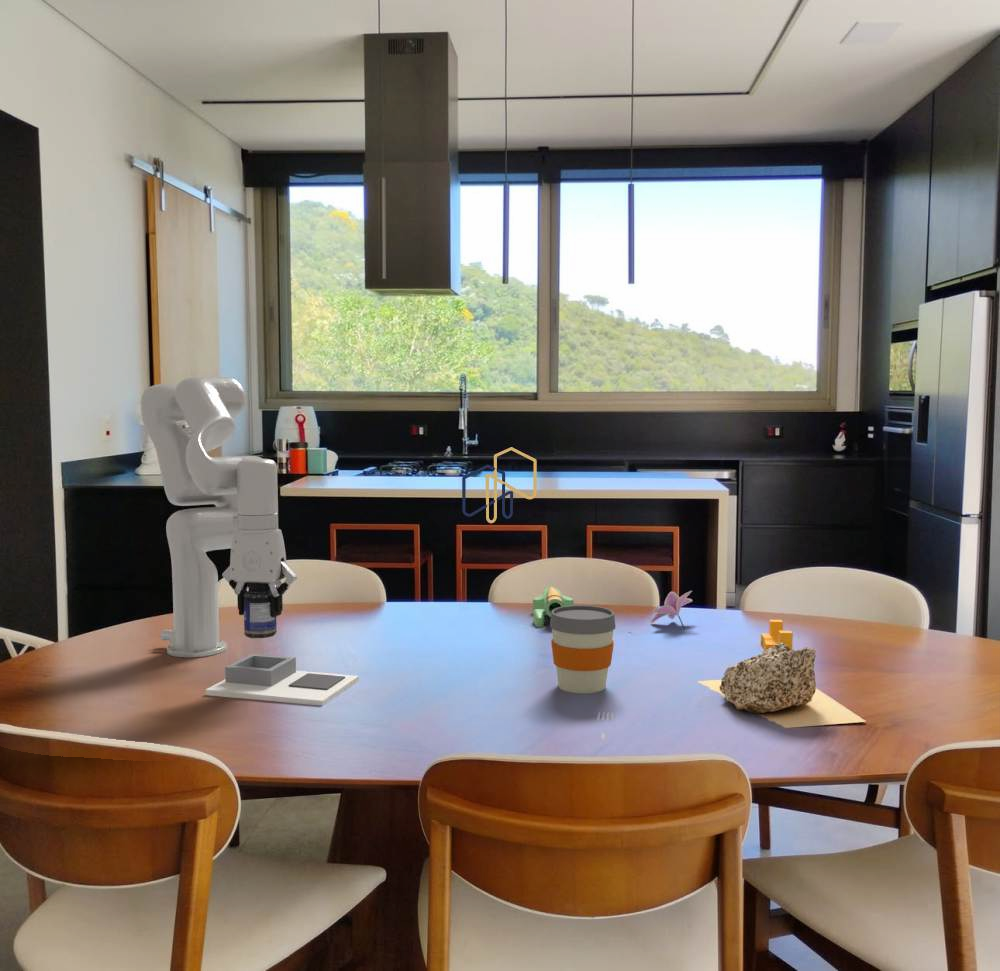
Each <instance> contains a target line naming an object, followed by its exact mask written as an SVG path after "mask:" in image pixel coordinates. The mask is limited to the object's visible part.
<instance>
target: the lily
mask: <svg viewBox="0 0 1000 971" xmlns="http://www.w3.org/2000/svg"><path fill="white" fill-rule="evenodd" d="M692 592H693V590H689V591H688V592H685V593H684V594H682V595H681V596H679V595H678V593H676V592H675V591H670V592H669V593H668V594H667V596H666V598H665V600H664V602H663V603H664V604H663V605H662V606H660V607H657V608H656V609H654V610H653V611H652V613H655V615H654V616H653V618H652V619H651V621H650V624H652V623H654V622H656V621H657V620H659V619H660V618H663V617H665V616H667V617H668V618H669V619H671V620H674V619H675V617H676V616H677V617H678V619H679V621H680V623H681V626H682V628H683V629H686V628H685V626H684V624H683V621H682V619H681V617H680V615H679V614H680V610H681V608H682V607H683V606H685V605H687V604H690V603H692V602H693V599H692V598H688V596H689V595H690V594H691V593H692Z"/></svg>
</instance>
